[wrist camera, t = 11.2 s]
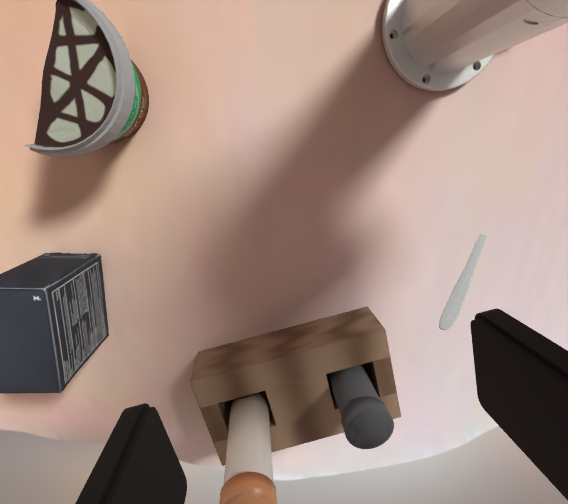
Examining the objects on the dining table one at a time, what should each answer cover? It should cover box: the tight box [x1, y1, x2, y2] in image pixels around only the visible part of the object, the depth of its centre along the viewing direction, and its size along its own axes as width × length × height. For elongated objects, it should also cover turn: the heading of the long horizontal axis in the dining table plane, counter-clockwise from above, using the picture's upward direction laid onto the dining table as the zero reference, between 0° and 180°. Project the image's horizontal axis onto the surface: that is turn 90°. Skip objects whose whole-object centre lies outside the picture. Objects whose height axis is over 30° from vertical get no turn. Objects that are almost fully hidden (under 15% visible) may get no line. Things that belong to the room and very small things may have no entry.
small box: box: [0, 253, 109, 393], centre depth 34 cm, size 11×6×10 cm, turn 178°
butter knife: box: [439, 234, 486, 330], centre depth 42 cm, size 1×27×3 cm
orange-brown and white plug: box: [220, 393, 277, 504], centre depth 34 cm, size 5×5×12 cm
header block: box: [190, 307, 401, 466], centre depth 41 cm, size 22×12×6 cm, turn 104°
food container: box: [25, 0, 149, 157], centre depth 30 cm, size 12×6×10 cm, turn 161°
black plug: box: [327, 364, 394, 449], centre depth 38 cm, size 5×5×12 cm
